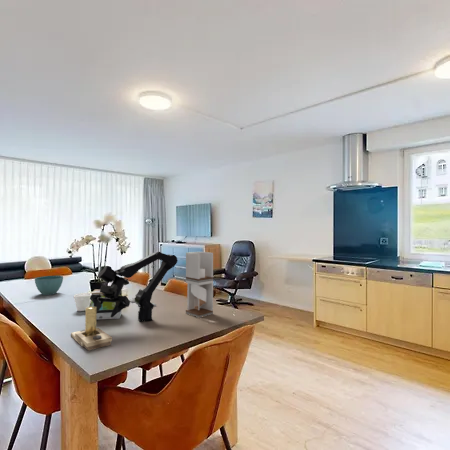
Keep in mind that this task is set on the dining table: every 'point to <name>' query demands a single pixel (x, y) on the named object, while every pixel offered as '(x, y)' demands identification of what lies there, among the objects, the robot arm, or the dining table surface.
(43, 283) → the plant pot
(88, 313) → the brass pin
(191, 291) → the grey stand
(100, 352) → the dining table surface
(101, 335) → the wooden slotted base
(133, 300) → the adjustable wrench
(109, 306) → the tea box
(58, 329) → the dining table surface
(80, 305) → the cup
